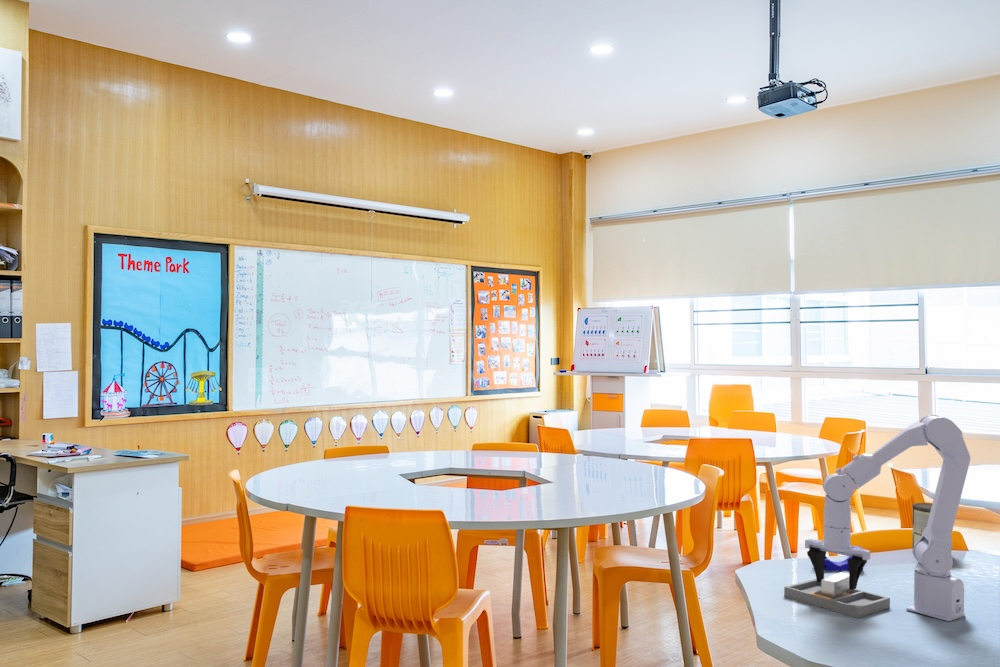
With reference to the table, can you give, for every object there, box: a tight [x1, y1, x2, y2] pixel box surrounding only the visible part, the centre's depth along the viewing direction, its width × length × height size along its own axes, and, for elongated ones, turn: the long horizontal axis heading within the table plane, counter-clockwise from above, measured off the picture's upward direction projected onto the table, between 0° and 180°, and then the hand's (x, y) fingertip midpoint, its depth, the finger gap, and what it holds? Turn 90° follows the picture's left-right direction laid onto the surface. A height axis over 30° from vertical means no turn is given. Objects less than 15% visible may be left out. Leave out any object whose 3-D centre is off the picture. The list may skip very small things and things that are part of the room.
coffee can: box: [911, 502, 932, 553], centre depth 233 cm, size 10×10×14 cm
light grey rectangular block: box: [821, 571, 853, 599], centre depth 184 cm, size 3×10×4 cm, turn 133°
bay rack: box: [783, 578, 891, 619], centre depth 183 cm, size 18×14×2 cm
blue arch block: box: [824, 545, 864, 572], centre depth 213 cm, size 12×4×6 cm, turn 86°
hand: (836, 584), depth 184 cm, fingers open, 7 cm apart
